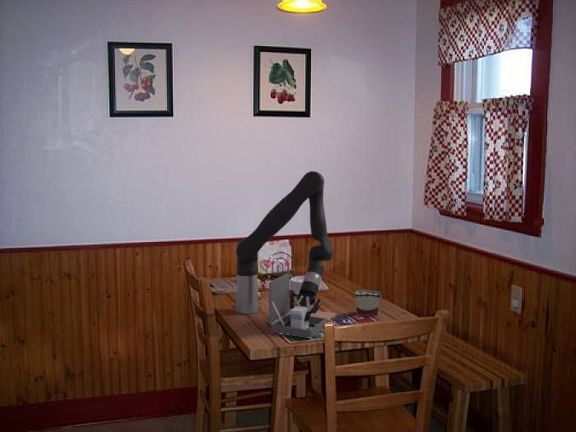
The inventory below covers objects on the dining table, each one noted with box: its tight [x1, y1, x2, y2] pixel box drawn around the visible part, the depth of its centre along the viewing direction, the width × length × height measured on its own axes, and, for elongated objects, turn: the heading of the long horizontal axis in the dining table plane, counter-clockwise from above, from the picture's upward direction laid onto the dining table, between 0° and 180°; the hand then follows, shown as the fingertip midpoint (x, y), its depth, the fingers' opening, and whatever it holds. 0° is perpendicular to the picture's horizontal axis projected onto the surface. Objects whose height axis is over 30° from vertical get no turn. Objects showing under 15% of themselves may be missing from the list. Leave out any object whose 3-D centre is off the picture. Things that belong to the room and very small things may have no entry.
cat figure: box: [257, 278, 266, 301], centre depth 326 cm, size 10×9×25 cm
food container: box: [353, 289, 382, 316], centre depth 292 cm, size 12×6×10 cm, turn 84°
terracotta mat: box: [310, 310, 338, 321], centre depth 286 cm, size 13×16×1 cm
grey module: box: [289, 306, 310, 329], centre depth 269 cm, size 5×7×9 cm
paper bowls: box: [289, 275, 322, 296], centre depth 324 cm, size 15×15×8 cm
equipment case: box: [268, 272, 328, 337], centre depth 268 cm, size 18×18×21 cm
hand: (299, 319), depth 269 cm, fingers closed on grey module, 5 cm apart
